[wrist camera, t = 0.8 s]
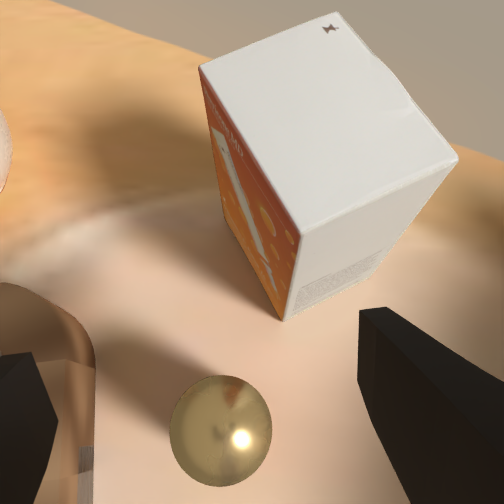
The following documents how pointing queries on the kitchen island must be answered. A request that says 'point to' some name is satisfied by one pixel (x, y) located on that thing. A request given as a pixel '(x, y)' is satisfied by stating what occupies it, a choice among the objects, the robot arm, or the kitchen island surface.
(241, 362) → the kitchen island surface
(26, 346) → the walnut end link
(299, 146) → the small box
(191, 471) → the brass pin
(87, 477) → the dark steel end link
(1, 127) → the lidded jar
